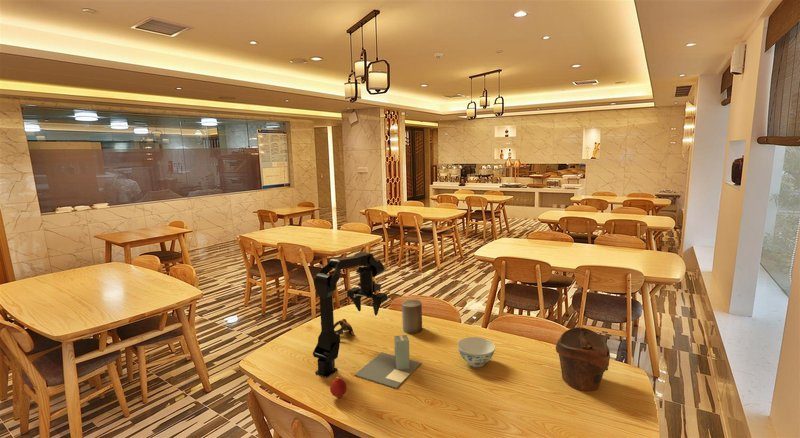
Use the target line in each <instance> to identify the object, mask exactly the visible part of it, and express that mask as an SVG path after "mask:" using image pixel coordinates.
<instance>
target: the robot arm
mask: <svg viewBox="0 0 800 438" xmlns="http://www.w3.org/2000/svg"><path fill="white" fill-rule="evenodd" d="M357 266H359V267H358V268H357V269H356V271H355V273H357V274H359V282H358V283H357V285H358V287H357V286H354V287H351V288H349V289H348V290H347V292H346V296H347V297H348V298H349V300H351V302H352V303H353V304H354V305H355V307H356V309H357V311H358V312H361V311H362V310H361V309H362V301H361V299H362V297H364V298H367V299H368V298H369V299H372V308H373V312H374V313H373V314H374V316H377V315H378V313H379V311H380V307H381V305H382V304H383V303H385V302H386V301H388V295H387V293H384V292H381V288H382V283H377V282H376V281H374V280H373V278H375V277H377V276H379V275H382V274H383V273H385V266H384V264H383V262H382V261H381V259H376V258H375V257H374V254H373V253H370V252H364V251H358V252H356V253H354V255H352V256H345V257H340V258H339V257H338V258H331V259H330V260H329V261H328V263H327V264H325V265H324V266H322V267H321V268H320V269H319V270H318V272H317V274H316V275H315V277H314V279H313V285H314V290H315V293H316V294H317V295H318V297H319V311H320V328H321V332H320V333H319V335H318V337H317V344H316V345H315V348H314V350H313V352H312V356H313V357H314V358H316V359H317V370H316V371H315V372H314V374H315V375H319V376H322V377H325V378H329V377H330V376H332V375H333V374H334V373H336V372H337V371H338V367H336V365H335V364H336V363H335V361H336V359H338V356H339V351H340V346H341V335H340V334H339V333H337V332H335V331H336V330H335V329H334V324H335V320H334V319H335V318H334V301H333V296H334V294H335V292H336V290H337V283H338V282H339V280H340V278H341V273H342V269H346V268H352V267H357ZM333 270H334V273H333V274H329V273H330V272H332V271H333ZM377 292H378V293H377ZM375 293H376V294H375Z"/></svg>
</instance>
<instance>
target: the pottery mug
mask: <svg viewBox="0 0 800 438" xmlns="http://www.w3.org/2000/svg"><path fill="white" fill-rule="evenodd" d="M338 325H339V326H340V328H339V329H337V330H335V329H336V327H337V326H338ZM334 330H335V332H337V333H339V334H340V336H341V335H342V336H343V335H344V332H346V331H348V332H349V333H351V336H352V337H354V336H355V335H354V330H353V327H352V325H351V324H350V323H349V322H348V321H347V319H345V318H343V319H341V320H338V321H336V322H334Z"/></svg>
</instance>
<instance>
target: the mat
mask: <svg viewBox="0 0 800 438" xmlns="http://www.w3.org/2000/svg"><path fill="white" fill-rule="evenodd" d="M409 365H410V369H403V370H397V368H396V365H395V354H391V353H387V352H383V351H381V353H379V354H378V355H377V356H375V357H374V358H372V359H371V360H370V361H369V362H368V363H367V364H365V365H364V366H363V367H362V368H360V369H359V370H358V371H357V372H356V373H354V377H357V378H360V379H364V380H367V381H370V382H373V383H377V384H379V385H382V386H386V387H390V388H393V389H396V390H397V389H398V388H399V387H400V386H402V384H403V383H404V382H405V381H406V380H407V379H408V378H409V377H410V376H411V375H412V373H414V372H415V371H416V370H417V369H418V368H419V367H420V366H421V365H422V362H420V361H418V360H413V359H409Z"/></svg>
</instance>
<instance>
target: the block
mask: <svg viewBox="0 0 800 438" xmlns="http://www.w3.org/2000/svg"><path fill="white" fill-rule="evenodd" d="M393 338H394V340H393V341H394V356H395V365H396V368H397V370H403V369H410V365H409V360H410V339H409V337H408V335H407V334H404V335H403V334H401V335H400V334H399V335H394V337H393Z"/></svg>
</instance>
